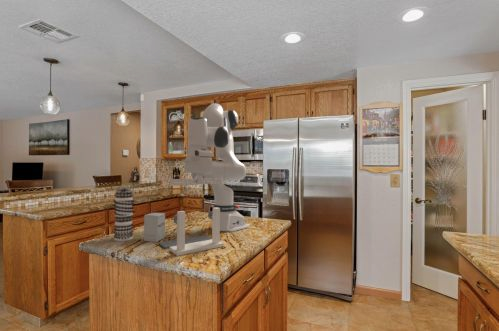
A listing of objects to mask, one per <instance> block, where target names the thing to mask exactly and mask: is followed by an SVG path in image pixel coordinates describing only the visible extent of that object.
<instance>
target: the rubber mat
mask: <svg viewBox="0 0 499 331" xmlns="http://www.w3.org/2000/svg"><path fill="white" fill-rule="evenodd" d="M210 239H212V236H208V235H206V234H202V235H197V236H191V237H185V244H188V243H194V242H199V241H205V240H210ZM158 245H159V246H160V247H161V248H163V249H164V250H167V249H170V247H172V246H177V239H173V240H167V241H161V242H159V241H158Z"/></svg>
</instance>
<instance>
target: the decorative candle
mask: <svg viewBox="0 0 499 331" xmlns="http://www.w3.org/2000/svg"><path fill="white" fill-rule="evenodd" d="M114 192H115V199H114V200H113V203H114V205H113V207H114V208H113V210H114V212H113V214H114V217H115V218H114V220H115V221H114V229H113V230H114V231H113V237H114V238H113V240H114V241H116V242H124V241H130V240H132V239H133V238H134V237H133V235H134V233H133V232H134V231H133V229H134V227H133V225H134V224H133V215H134V210H133V209H134V207H133V206H134V205H135V203H134V202H135V200H134V199H133V190H132V189H131V188H130V187H119V188H117V189H116V191H114Z"/></svg>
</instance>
